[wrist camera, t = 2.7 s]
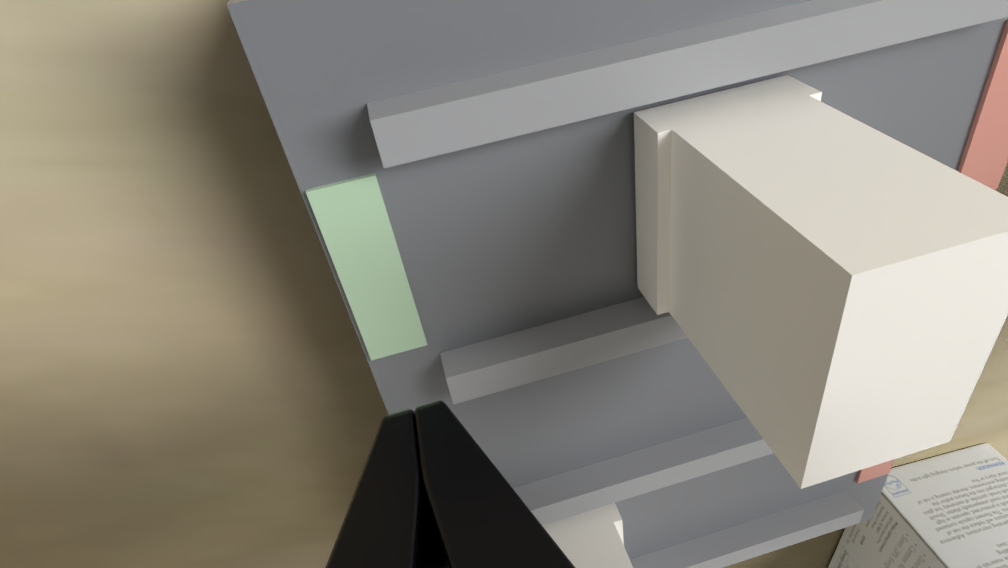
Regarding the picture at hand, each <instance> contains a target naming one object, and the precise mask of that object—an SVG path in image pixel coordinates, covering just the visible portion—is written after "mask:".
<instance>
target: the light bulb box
mask: <svg viewBox="0 0 1008 568" xmlns="http://www.w3.org/2000/svg"><path fill="white" fill-rule="evenodd" d="M828 568H1008V460H1007V459H1005V458H1004V457H1003V456H1002V455H1001V454H1000V453H999V452H997V451H996V450H995V449H994V448H993V447H992V446H991V445H989V444H988V443H983V444H979V445H976V446H972V447H968V448H964V449H961V450H957V451H953V452H949V453H946V454H942V455H938V456H935V457H931V458H927V459H923V460H920V461H916V462H912V463H909V464H905V465H902V466H898V467H894V468H891V470H890V473H889V474H888V476H887V479H886V482H885V484H884V487H883V490H882V492H881V495H880V498H879V500H878V503H877V505H876V508H875V511H874V513H873V516H872V519H870V520H867V521H864V522H861V523H858V524H855V525H852V526H849V527H846V528H845V530H844V532H843V534H842V537H841V539H840V541H839V544H838V546H837V548H836V551H835V553H834V555H833V557H832V560H831V562H830V564H829V567H828Z"/></svg>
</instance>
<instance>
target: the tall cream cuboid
mask: <svg viewBox="0 0 1008 568" xmlns="http://www.w3.org/2000/svg"><path fill="white" fill-rule="evenodd" d="M542 526H543V527H544V529H545V530H546V531H547V532H548V534H549V535H550V536H551V537H552V539H553V540H554V541H555V542H556V544H557V545H558V546H559V548H560V549H561V550H562V551H563V553H564V554H565V555H566V556H567V558H568V559H569V560H570V561H571V563H572V564H573V565H574V566H575V568H633V566H632V564H631V561H630V559H629V557H628V554H627V552H626V550H625V547H624V539H623V521H622V518H621V515H620V513H619V511H618V509H617V506H616V504H615V503H612V504H609V505H606V506H602V507H599V508H596V509H593V510H589V511H586V512H583V513H580V514H577V515H573V516H570V517H567V518H564V519H560V520H557V521H554V522H551V523H548V524H544V525H542Z"/></svg>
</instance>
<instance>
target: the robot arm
mask: <svg viewBox="0 0 1008 568" xmlns="http://www.w3.org/2000/svg"><path fill="white" fill-rule="evenodd" d="M326 568H575V566H574V565H573V564H572V563H571V561H570V560H569V559H568V558H567V556H566V555H565V554H564V553H563V551H562V550H561V549H560V548H559V546H558V545H557V544H556V542H555V541H554V540H553V539H552V537H551V536H550V535H549V534H548V532H547V531H546V530H545V529H544V527H543V526H542V525H541V523H540V522H539V521H538V520H537V518H536V517H535V516H534V515H533V513H532V512H531V511H530V510H529V508H528V507H527V506H526V505H525V503H524V502H523V501H522V499H521V498H520V497H519V496H518V494H517V493H516V492H515V491H514V489H513V488H512V487H511V486H510V484H509V483H508V482H507V480H506V479H505V478H504V477H503V475H502V474H501V473H500V472H499V470H498V469H497V468H496V467H495V465H494V464H493V463H492V462H491V460H490V459H489V458H488V456H487V455H486V454H485V453H484V451H483V450H482V449H481V448H480V446H479V445H478V444H477V443H476V441H475V440H474V439H473V437H472V436H471V435H470V434H469V432H468V431H467V430H466V429H465V427H464V426H463V425H462V424H461V422H460V421H459V420H458V418H457V417H456V416H455V415H454V413H453V412H452V411H451V410H450V408H449V407H448V406H447V405H446V403H445V402H443V401H441V400H439V401H435V402H431V403H428V404H424V405H421V406H418V407H416V408H415V411H413V410H411V409H406V410H403V411H399V412H396V413H392V414H389V415H386V416H385V417H384V418H383V419H382V422H381V424H380V427H379V429H378V432H377V434H376V437H375V440H374V442H373V445H372V448H371V450H370V453H369V455H368V458H367V461H366V463H365V466H364V468H363V471H362V474H361V476H360V479H359V482H358V484H357V487H356V489H355V492H354V495H353V497H352V500H351V503H350V505H349V508H348V510H347V513H346V516H345V518H344V521H343V524H342V526H341V529H340V531H339V534H338V537H337V539H336V542H335V544H334V547H333V550H332V552H331V555H330V558H329V560H328V563H327V565H326Z"/></svg>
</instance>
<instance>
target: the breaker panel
mask: <svg viewBox="0 0 1008 568" xmlns="http://www.w3.org/2000/svg"><path fill="white" fill-rule="evenodd" d="M227 8H228V10H229V13H230V15H231V18H232V20H233V23H234V25H235V28H236V30H237V33H238V36H239V38H240V41H241V43H242V46H243V48H244V51H245V53H246V56H247V58H248V61H249V63H250V66H251V68H252V71H253V73H254V76H255V78H256V81H257V84H258V86H259V89H260V91H261V94H262V96H263V99H264V101H265V104H266V106H267V109H268V111H269V114H270V116H271V119H272V121H273V124H274V127H275V129H276V132H277V134H278V137H279V139H280V142H281V144H282V147H283V149H284V152H285V154H286V157H287V159H288V162H289V164H290V167H291V170H292V172H293V175H294V177H295V180H296V182H297V185H298V187H299V190H300V192H301V195H302V197H303V200H304V202H305V205H306V207H307V210H308V212H309V215H310V218H311V220H312V223H313V225H314V228H315V230H316V233H317V235H318V238H319V240H320V243H321V245H322V248H323V250H324V253H325V255H326V258H327V261H328V263H329V266H330V268H331V271H332V273H333V276H334V278H335V281H336V283H337V286H338V288H339V291H340V293H341V296H342V298H343V301H344V304H345V306H346V309H347V311H348V314H349V316H350V319H351V321H352V324H353V326H354V329H355V331H356V334H357V336H358V339H359V341H360V344H361V346H362V349H363V352H364V354H365V357H366V359H367V362H368V364H369V367H370V369H371V372H372V374H373V377H374V379H375V382H376V384H377V387H378V389H379V392H380V395H381V397H382V400H383V402H384V405H385V407H386V410H387V412H388V415H389V414H392V413H396V412H399V411H403V410H406V409H411V410H413V411H415V408H416V407H418V406H421V405H424V404H428V403H431V402H435V401H439V400H441V401H443V402H445V403H446V405H447V406H448V407H449V408H450V410H451V411H452V412H453V413H454V415H455V416H456V417H457V418H458V420H459V421H460V422H461V424H462V425H463V426H464V427H465V429H466V430H467V431H468V432H469V434H470V435H471V436H472V437H473V439H474V440H475V441H476V443H477V444H478V445H479V446H480V448H481V449H482V450H483V451H484V453H485V454H486V455H487V456H488V458H489V459H490V460H491V462H492V463H493V464H494V465H495V467H496V468H497V469H498V470H499V472H500V473H501V474H502V475H503V477H504V478H505V479H506V480H507V482H508V483H509V484H510V486H511V487H512V488H513V489H514V491H515V492H516V493H517V494H518V496H519V497H520V498H521V499H522V501H523V502H524V503H525V505H526V506H527V507H528V508H529V510H530V511H531V512H532V513H533V515H534V516H535V517H536V518H537V520H538V521H539V522H540V523H541V525H544V524H548V523H551V522H554V521H557V520H560V519H564V518H567V517H570V516H573V515H577V514H580V513H583V512H586V511H589V510H593V509H596V508H599V507H602V506H606V505H609V504H612V503H615V504H616V506H617V509H618V511H619V513H620V515H621V518H622V521H623V539H624V547H625V550H626V552H627V554H628V557H629V559H630V561H631V564H632V566H633V568H724V567H727V566H730V565H733V564H736V563H739V562H742V561H745V560H748V559H751V558H754V557H757V556H760V555H763V554H766V553H769V552H772V551H775V550H778V549H782V548H785V547H788V546H791V545H794V544H797V543H800V542H803V541H806V540H809V539H812V538H815V537H818V536H821V535H824V534H827V533H830V532H833V531H836V530H839V529H842V528H846V527H849V526H852V525H855V524H858V523H861V522H864V521H867V520H870V519H872V516H873V513H874V511H875V508H876V505H877V503H878V500H879V498H880V495H881V492H882V490H883V487H884V484H885V482H886V479H887V476H888V474H889V473H890V470H891V468H892V465H893V462H894V460H895V459H893V460H890V461H887V462H884V463H881V464H878V465H875V466H871V467H868V468H865V469H862V470H859V471H856V472H853V473H849V474H846V475H843V476H840V477H837V478H834V479H831V480H828V481H824V482H821V483H818V484H815V485H812V486H809V487H806V488H802V489H800V488H799V486H798V485H797V483H796V482H795V481H794V479H793V478H792V477H791V475H790V474H789V473H788V471H787V470H786V469H785V467H784V466H783V465H782V463H781V462H780V461H779V459H778V458H777V457H776V455H775V454H774V453H773V451H772V450H771V449H770V447H769V446H768V445H767V443H766V442H765V441H764V439H763V438H762V436H761V435H760V434H759V432H758V431H757V430H756V428H755V427H754V426H753V424H752V423H751V422H750V420H749V419H748V418H747V416H746V415H745V414H744V412H743V411H742V410H741V408H740V407H739V406H738V404H737V403H736V402H735V400H734V399H733V398H732V396H731V395H730V393H729V392H728V391H727V389H726V388H725V387H724V385H723V384H722V383H721V381H720V380H719V379H718V377H717V376H716V375H715V373H714V372H713V371H712V369H711V368H710V367H709V365H708V364H707V363H706V361H705V360H704V359H703V357H702V356H701V355H700V353H699V352H698V351H697V349H696V348H695V346H694V345H693V344H692V342H691V341H690V340H689V338H688V337H687V336H686V334H685V333H684V332H683V330H682V329H681V328H680V326H679V325H678V324H677V322H676V321H675V320H674V318H673V317H672V316H671V314H670V313H669V312H667V313H663V314H660V315H657V314H656V313H655V311H654V310H653V308H652V307H651V306H650V304H649V303H648V301H647V300H646V299H645V297H644V296H643V294H642V293H641V292H640V290H639V289H638V285H637V240H636V195H635V150H634V112H637V111H641V110H645V109H650V108H654V107H658V106H662V105H666V104H670V103H674V102H678V101H682V100H686V99H690V98H695V97H699V96H703V95H707V94H711V93H715V92H719V91H723V90H727V89H731V88H736V87H740V86H744V85H748V84H752V83H756V82H760V81H764V80H768V79H772V78H777V77H781V76H785V75H788V76H790V77H793V78H795V79H797V80H799V81H801V82H803V83H805V84H807V85H809V86H811V87H813V88H815V89H817V90H819V91H821V92H822V96H821V102H823V103H825V104H827V105H829V106H831V107H833V108H835V109H837V110H838V111H840V112H842V113H844V114H846V115H848V116H850V117H852V118H854V119H856V120H858V121H860V122H862V123H864V124H866V125H868V126H870V127H872V128H874V129H876V130H878V131H880V132H882V133H884V134H885V135H887V136H889V137H891V138H893V139H895V140H897V141H899V142H901V143H903V144H905V145H907V146H909V147H911V148H913V149H915V150H917V151H919V152H921V153H923V154H925V155H927V156H929V157H931V158H932V159H934V160H936V161H938V162H940V163H942V164H944V165H946V166H948V167H950V168H952V169H954V170H956V171H958V172H960V173H962V174H964V175H966V176H968V177H970V178H972V179H974V180H976V181H978V182H979V183H981V184H983V185H985V186H987V187H989V188H991V189H993V190H995V191H996V189H998V186H999V183H1000V181H1001V178H1002V175H1003V173H1004V170H1005V167H1006V165H1007V162H1008V0H229V1H228V3H227Z"/></svg>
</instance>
